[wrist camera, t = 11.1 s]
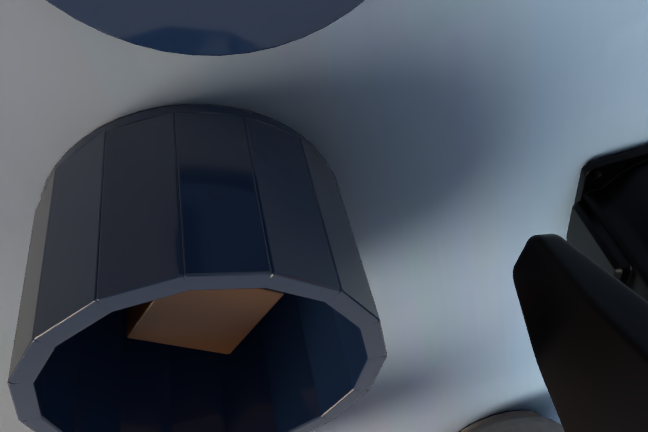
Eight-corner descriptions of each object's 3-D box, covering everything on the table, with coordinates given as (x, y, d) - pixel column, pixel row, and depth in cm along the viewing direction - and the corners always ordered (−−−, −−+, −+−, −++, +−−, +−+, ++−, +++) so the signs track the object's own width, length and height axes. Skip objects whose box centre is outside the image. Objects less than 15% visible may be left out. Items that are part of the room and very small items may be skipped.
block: (171, 180, 22) (176, 268, 20) (268, 210, 25) (285, 294, 22) (127, 249, 25) (125, 338, 22) (220, 272, 27) (229, 355, 24)
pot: (307, 64, 21) (361, 226, 16) (355, 266, 29) (399, 411, 24) (-30, 157, 21) (-84, 349, 16) (119, 332, 29) (115, 490, 24)
